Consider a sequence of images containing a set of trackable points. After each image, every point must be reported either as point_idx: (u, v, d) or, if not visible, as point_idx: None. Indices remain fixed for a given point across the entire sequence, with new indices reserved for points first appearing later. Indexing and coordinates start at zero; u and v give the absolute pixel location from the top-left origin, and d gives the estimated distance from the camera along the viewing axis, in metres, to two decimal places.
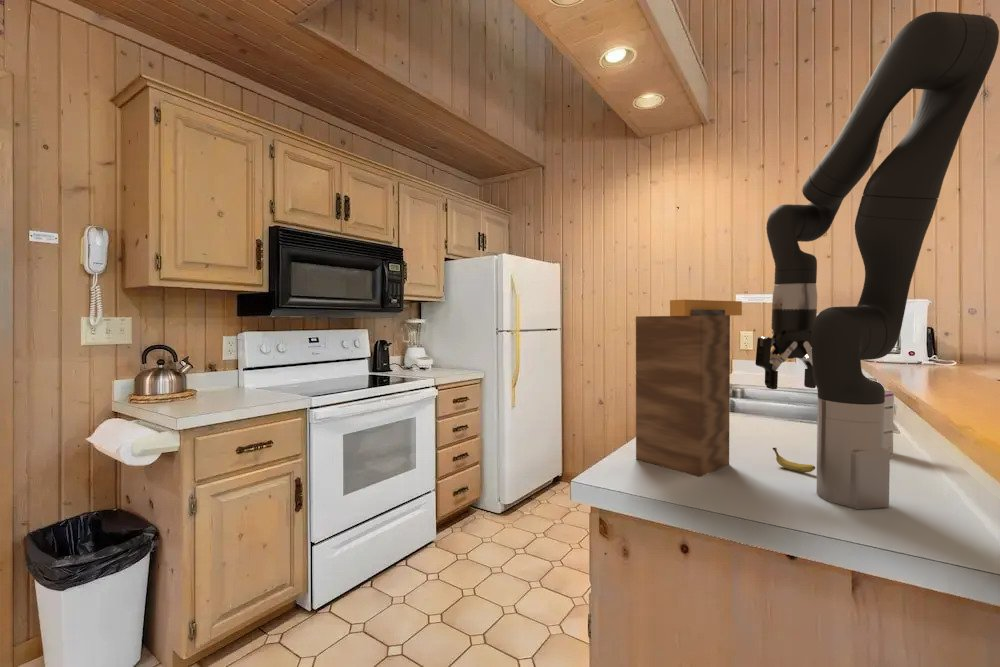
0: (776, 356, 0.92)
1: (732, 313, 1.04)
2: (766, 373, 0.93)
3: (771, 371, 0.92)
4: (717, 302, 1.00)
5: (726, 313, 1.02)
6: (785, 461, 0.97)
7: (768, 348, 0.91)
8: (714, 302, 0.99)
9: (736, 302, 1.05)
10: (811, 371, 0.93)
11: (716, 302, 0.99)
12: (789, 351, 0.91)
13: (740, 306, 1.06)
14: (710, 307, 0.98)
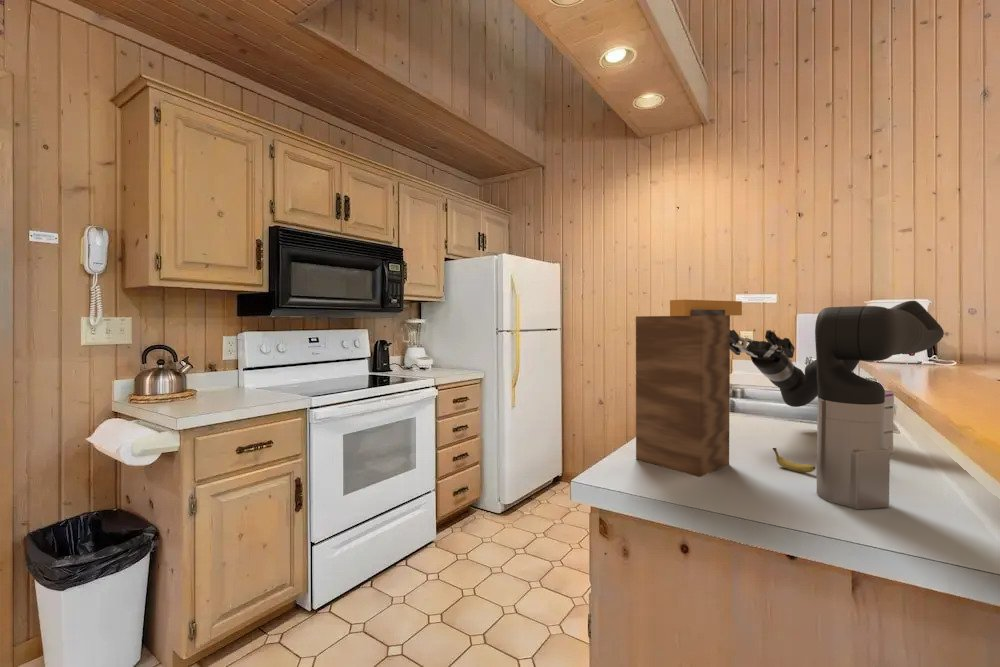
0: None
1: (732, 313, 1.04)
2: (776, 338, 1.10)
3: (775, 343, 1.10)
4: (717, 302, 1.00)
5: (726, 313, 1.02)
6: (785, 461, 0.97)
7: (787, 354, 1.12)
8: (714, 302, 0.99)
9: (736, 302, 1.05)
10: (736, 341, 1.17)
11: (716, 302, 0.99)
12: (767, 353, 1.14)
13: (740, 306, 1.06)
14: (710, 307, 0.98)
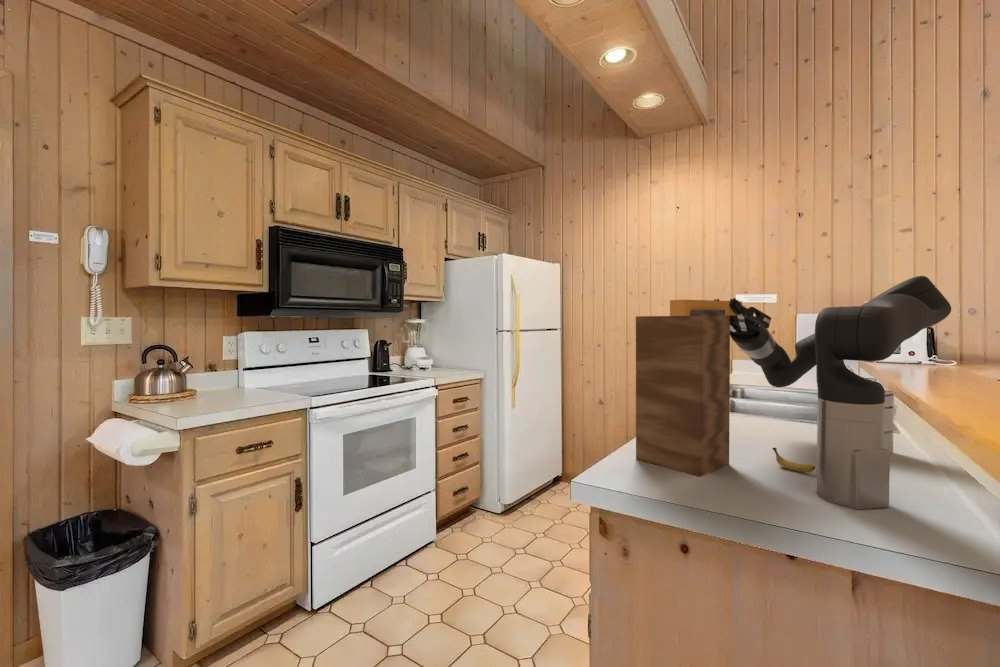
0: (745, 318, 1.06)
1: (732, 313, 1.04)
2: (741, 306, 1.04)
3: (740, 312, 1.04)
4: (717, 302, 1.00)
5: (726, 313, 1.02)
6: (785, 461, 0.97)
7: (760, 323, 1.04)
8: (714, 302, 0.99)
9: None
10: None
11: (716, 302, 0.99)
12: (742, 326, 1.07)
13: None
14: (710, 307, 0.98)
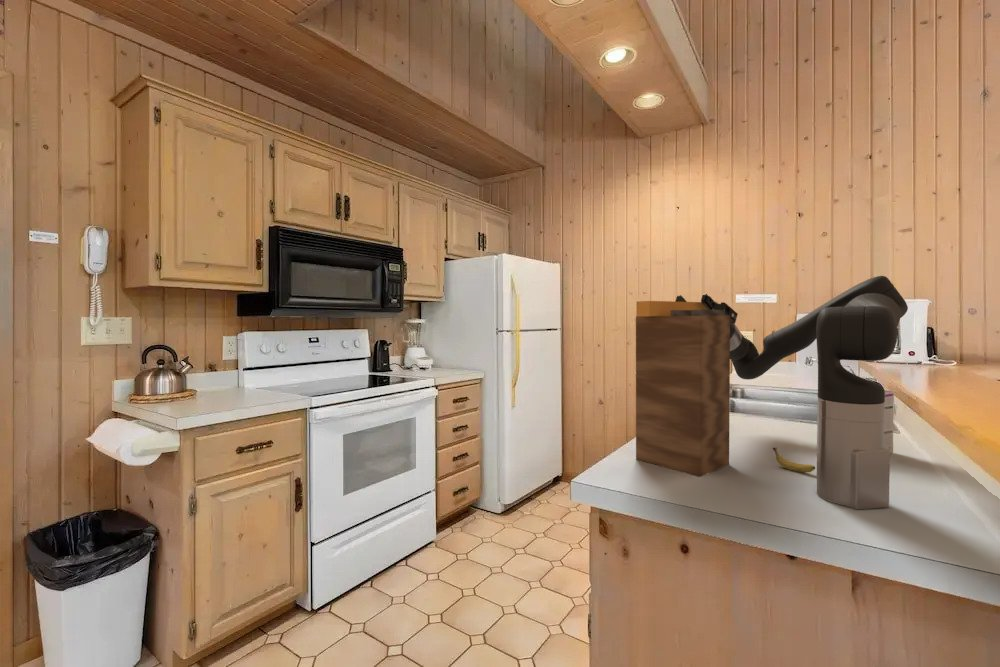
0: None
1: None
2: (713, 302, 1.08)
3: (712, 307, 1.08)
4: (683, 303, 1.05)
5: None
6: (785, 461, 0.97)
7: None
8: (680, 303, 1.04)
9: None
10: None
11: (682, 303, 1.05)
12: None
13: None
14: (676, 308, 1.03)
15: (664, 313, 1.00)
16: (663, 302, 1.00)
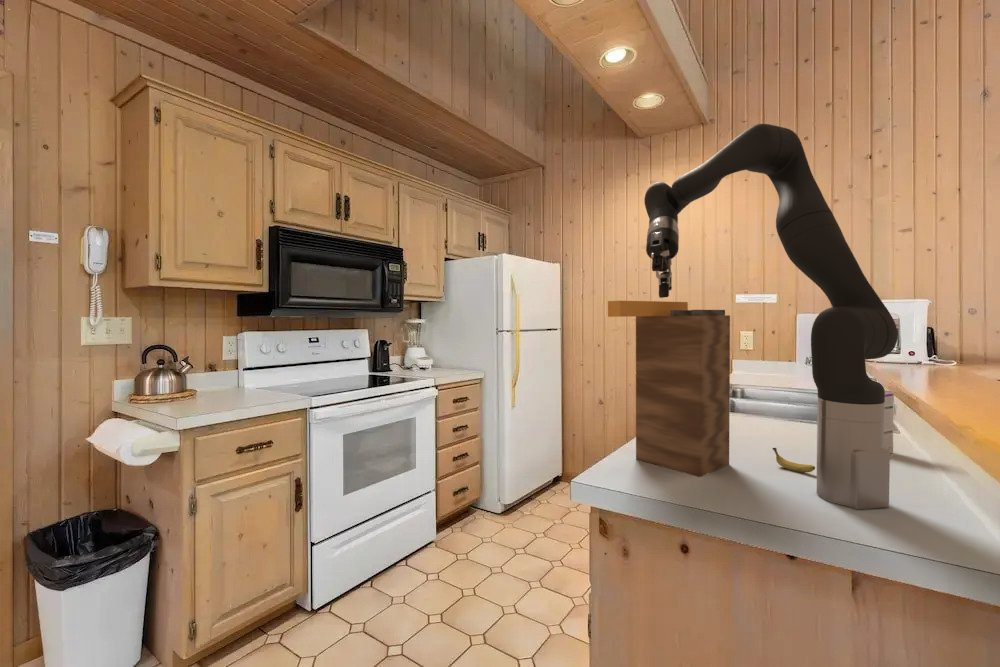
0: None
1: None
2: (655, 257, 1.05)
3: (660, 256, 1.05)
4: (658, 303, 1.01)
5: (669, 314, 1.03)
6: (785, 461, 0.97)
7: (662, 238, 1.07)
8: (655, 303, 1.00)
9: (681, 303, 1.06)
10: (666, 285, 1.11)
11: (657, 303, 1.01)
12: (667, 253, 1.09)
13: (685, 307, 1.07)
14: (650, 308, 0.99)
15: (637, 314, 0.97)
16: (636, 302, 0.96)
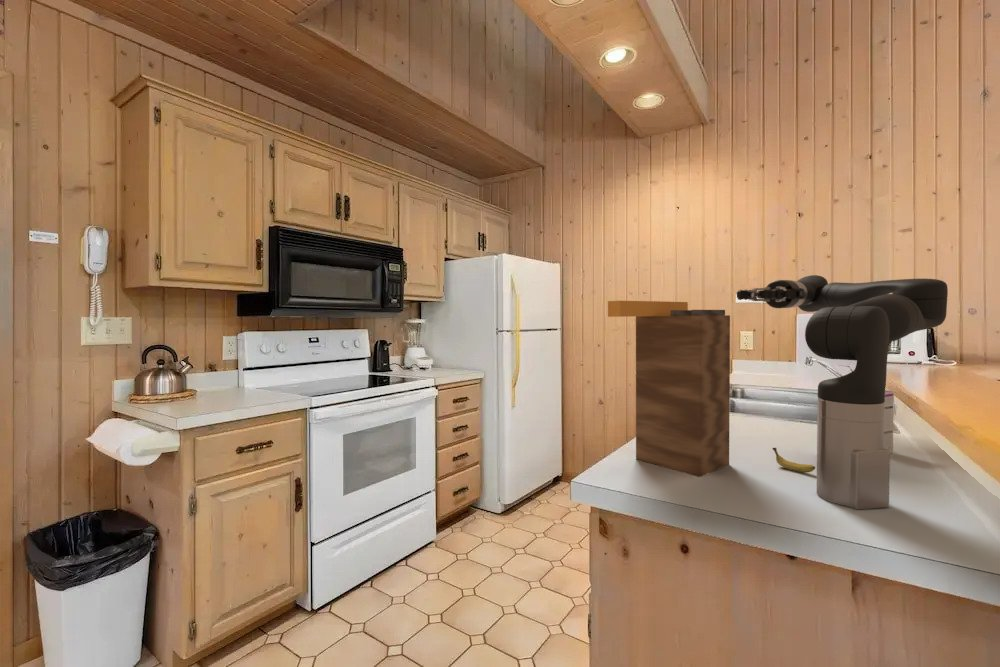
0: None
1: None
2: None
3: None
4: (658, 303, 1.01)
5: (669, 314, 1.03)
6: (785, 461, 0.97)
7: None
8: (655, 303, 1.00)
9: (681, 303, 1.06)
10: None
11: (657, 303, 1.01)
12: (762, 288, 1.22)
13: (685, 307, 1.07)
14: (650, 308, 0.99)
15: (637, 314, 0.97)
16: (636, 302, 0.96)
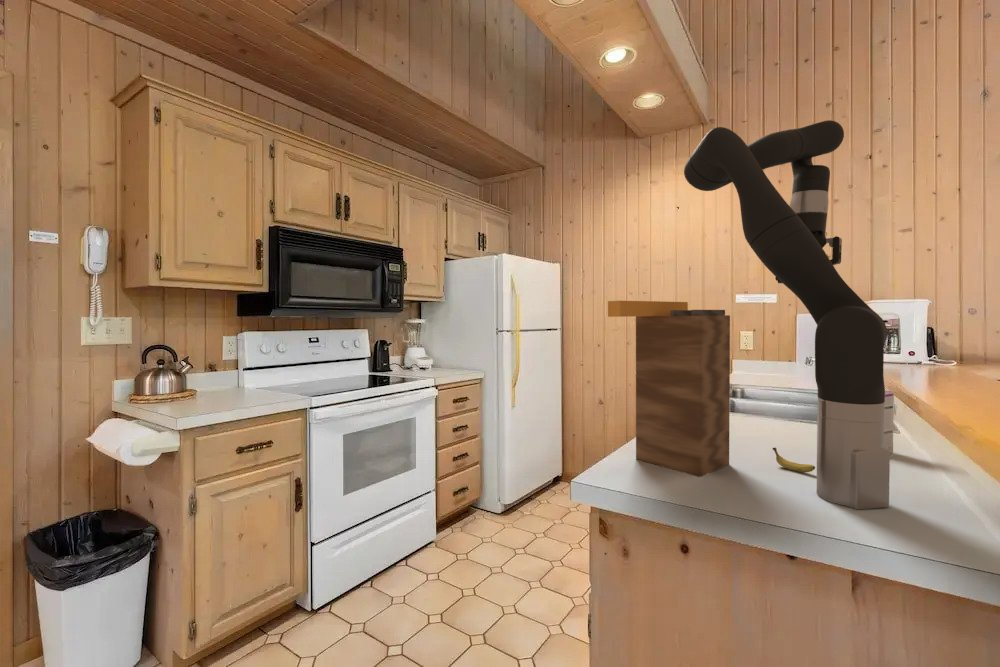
0: None
1: None
2: None
3: None
4: (658, 303, 1.01)
5: (669, 314, 1.03)
6: (785, 461, 0.97)
7: None
8: (655, 303, 1.00)
9: (681, 303, 1.06)
10: None
11: (657, 303, 1.01)
12: None
13: (685, 307, 1.07)
14: (650, 308, 0.99)
15: (637, 314, 0.97)
16: (636, 302, 0.96)
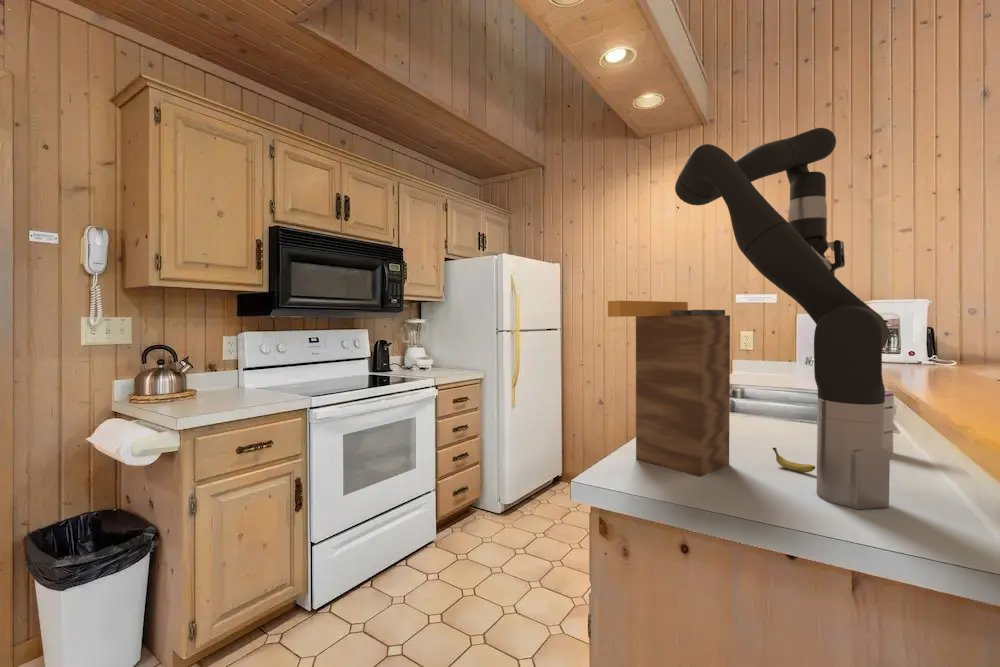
0: (826, 259, 1.06)
1: None
2: None
3: None
4: (658, 303, 1.01)
5: (669, 314, 1.03)
6: (785, 461, 0.97)
7: None
8: (655, 303, 1.00)
9: (681, 303, 1.06)
10: None
11: (657, 303, 1.01)
12: None
13: (685, 307, 1.07)
14: (650, 308, 0.99)
15: (637, 314, 0.97)
16: (636, 302, 0.96)
